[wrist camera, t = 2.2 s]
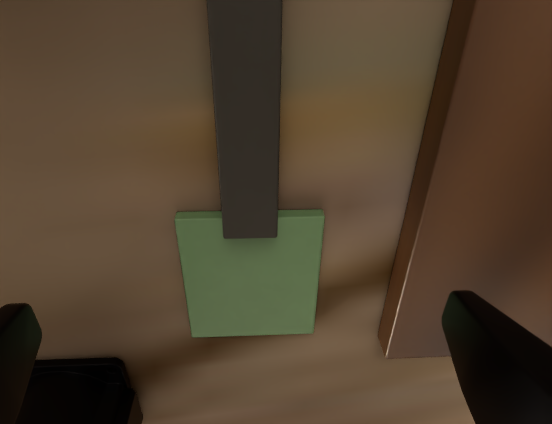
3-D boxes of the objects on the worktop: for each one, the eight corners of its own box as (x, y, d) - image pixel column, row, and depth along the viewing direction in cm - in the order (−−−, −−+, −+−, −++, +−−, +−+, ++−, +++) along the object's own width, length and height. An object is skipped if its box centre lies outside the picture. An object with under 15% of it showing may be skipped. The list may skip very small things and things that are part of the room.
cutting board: (377, 335, 21) (385, 359, 20) (494, -188, 10) (528, -206, 9) (541, 329, 22) (559, 352, 21) (819, -176, 11) (893, -192, 10)
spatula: (312, 324, 21) (317, 357, 19) (192, 328, 20) (187, 362, 19) (351, -94, 11) (368, -101, 10) (131, -99, 11) (111, -107, 9)
